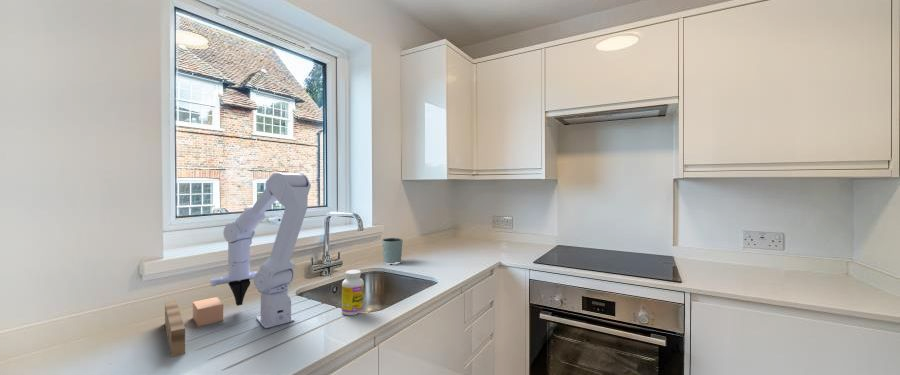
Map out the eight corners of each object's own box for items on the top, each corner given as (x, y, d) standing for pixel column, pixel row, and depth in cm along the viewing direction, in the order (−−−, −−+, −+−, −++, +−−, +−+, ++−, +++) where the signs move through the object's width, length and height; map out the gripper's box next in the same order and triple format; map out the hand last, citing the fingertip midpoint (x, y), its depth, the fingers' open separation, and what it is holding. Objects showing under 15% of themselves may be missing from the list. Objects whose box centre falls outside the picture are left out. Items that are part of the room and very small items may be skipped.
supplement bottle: (351, 317, 101) (352, 275, 101) (337, 313, 105) (337, 272, 104) (367, 310, 107) (368, 270, 106) (353, 306, 110) (353, 267, 110)
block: (223, 320, 98) (223, 303, 98) (198, 327, 94) (198, 309, 94) (216, 312, 104) (216, 297, 103) (192, 318, 99) (192, 301, 99)
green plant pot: (403, 260, 173) (403, 237, 173) (401, 265, 163) (401, 241, 163) (383, 260, 173) (383, 237, 172) (380, 265, 162) (380, 241, 162)
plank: (185, 353, 79) (185, 328, 79) (171, 356, 78) (171, 331, 77) (176, 321, 97) (176, 300, 97) (164, 323, 95) (164, 302, 95)
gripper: (261, 255, 112) (261, 295, 112) (208, 262, 102) (208, 306, 102) (267, 259, 107) (267, 301, 107) (212, 266, 97) (212, 313, 97)
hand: (239, 304), depth 104 cm, fingers closed
